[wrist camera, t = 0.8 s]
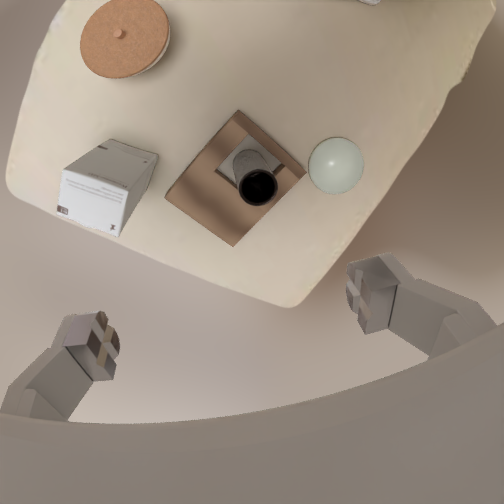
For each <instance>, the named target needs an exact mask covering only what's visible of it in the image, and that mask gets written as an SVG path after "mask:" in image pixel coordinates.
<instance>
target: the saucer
mask: <svg viewBox="0 0 504 504" xmlns="http://www.w3.org/2000/svg"><path fill="white" fill-rule="evenodd" d="M363 168H364V160H363V156H362V153H361V151H360V149H359V148H358V147H357V146H356V145H355V144H354V143H353V142H351V141H349V140H347V139H344V138H340V137H334V138H329V139H326V140H324V141H322V142H321V143H320V144H318V145H317V146H316V147H315V149H314V150H313V152H312V153H311V156H310V158H309V163H308V171H309V175H310V178H311V180H312V181H313V183H314V184H315V185H316V186H317V187H318V188H319V189H320V190H322V191H323V192H326V193H329V194H341V193H344V192H347V191H348V190H350V189H352V188H353V187H354V186H355V185H356V184H357V183H358V181H359V180H360V178H361V176H362V173H363Z"/></svg>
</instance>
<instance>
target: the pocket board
mask: <svg viewBox="0 0 504 504" xmlns="http://www.w3.org/2000/svg"><path fill="white" fill-rule="evenodd" d="M248 134H250V135H251V136H252V137H253V138H254V139H255V140H257V141H258V142H259V143H260V144H261V145H262V146H263V147H265V148H266V149H267V150H268V151H269V152H270V153H271V154H272V155H274V156H275V157H276V158H277V159H278V160H279V161H280V162H281V164H280V165H279V166H278V167H277V168H276V169H275V170H274V171H273V172H272V173H273V174H274V176H275V178H276V180H277V182H278V191H277V194H276V196H275V197H274V199H273V200H272V201H271V202H269V203H268V204H266V205H263V206H252V205H249V204H247V203H246V202H244V201H243V200H242V198H241V197H240V194H239V191H238V187H237V185H236V184H234V183H233V182H232V181H231V180H229V179H228V178H227V177H226V176H224V175H223V174H222V173H221V172H219V171H218V170H217V167H218V166H219V165H220V164H221V163H222V162H223V161H224V160H225V159H226V157H227V156H228V155H229V154H230V153H231V152H232V151H233V150H234V149H235V148H236V146H237V145H238V144H239V143H240V142H241V141H242V140H243V139H244V138H245V137H246V136H247V135H248ZM306 173H307V172H306V171H305V170H304V169H303V168H302V167H301V166H300V165H299V164H298V163H297V162H296V161H295V160H294V159H293V158H292V157H291V156H289V155H288V154H287V153H286V152H285V151H284V150H283V149H282V148H281V147H280V146H279V145H278V144H277V143H275V142H274V141H273V140H272V139H271V138H270V137H269V136H268V135H267V134H265V133H264V132H263V131H262V130H261V129H260V128H259V127H258V126H256V125H255V124H254V123H253V122H252V121H251V120H250V119H248V118H247V117H246V116H245V115H244V114H243V113H241V112H240V111H239V110H238V111H237V112H236V113H235V114H234V115H233V116H232V117H231V118H230V119H229V120H228V121H227V123H226V124H225V125H224V126H223V127H222V128H221V129H220V130H219V131H218V132H217V134H216V135H215V136H214V137H213V138H212V139H211V140H210V141H209V143H208V144H207V145H206V146H205V147H204V148H203V149H202V151H201V152H200V153H199V154H198V155H197V156H196V158H195V159H194V160H193V161H192V162H191V164H190V165H189V166H188V167H187V168H186V170H185V171H184V172H183V173H182V174H181V176H180V177H179V178H178V179H177V181H176V182H175V183H174V184H173V186H172V187H171V188H170V189H169V191H168V192H167V193H166V196H165V199H166V200H168V201H169V202H170V203H172V204H173V205H175V206H176V207H177V208H179V209H180V210H182V211H183V212H184V213H186V214H187V215H189V216H190V217H191V218H193V219H194V220H195V221H197V222H198V223H200V224H201V225H202V226H204V227H205V228H207V229H208V230H209V231H211V232H212V233H214V234H215V235H216V236H218V237H219V238H221V239H222V240H224V241H225V242H226V243H228V244H229V245H231V246H232V247H234V246H235V244H236V243H237V242H238V241H239V240H240V239H241V238H242V237H243V236H244V235H245V234H246V233H247V232H248V231H249V230H250V229H251V228H252V227H253V226H254V225H255V224H256V223H257V222H258V221H259V220H260V219H261V218H262V217H263V216H264V215H265V214H266V213H267V212H268V211H269V210H270V209H271V208H272V207H273V206H274V205H275V204H276V203H277V202H278V201H279V200H280V199H281V198H282V197H283V196H284V195H285V194H286V193H287V192H288V191H289V190H290V189H291V188H292V187H293V186H294V185H295V184H296V183H297V182H298V181H299V180H300V179H301V178H302V177H303V176H304V175H305V174H306Z"/></svg>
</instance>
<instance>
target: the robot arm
mask: <svg viewBox="0 0 504 504" xmlns="http://www.w3.org/2000/svg"><path fill="white" fill-rule="evenodd" d="M358 1H361V2H363V3H366V4H369V5H376V4H378V3H379V2H380V1H381V0H358ZM347 275H348V276H349V278H350V280H349V281H348V283H347V284H346V294H347V300H348V303H349V306H350V308H351V310H352V311H353V312H355V313H357V314H358V323H359V324H360V326H361V328H362V330H363V332H364V334H370V333H374V332H377V331H381V330H384V329H388V328H389V330H390V331H392V332H393V333H395V334H397V335H398V336H400V337H401V338H403V339H404V340H406V341H407V342H409V343H410V344H412V345H413V346H415V347H416V348H418V349H419V350H421V351H423V352H424V353H426V354H427V355H429V358H428V360H427V361H426V362H423V363H420V364H418V365H416V366H414V367H411V368H408V369H406V370H403V371H401V372H398V373H395V374H393V375H390V376H387V377H384V378H381V379H379V380H376V381H373V382H370V383H367V384H364V385H360V386H357V387H354V388H351V389H348V390H344V391H341V392H338V393H334V394H331V395H327V396H323V397H320V398H316V399H312V400H308V401H304V402H300V403H296V404H291V405H286V406H282V407H277V408H272V409H267V410H262V411H256V412H251V413H245V414H239V415H232V416H225V417H217V418H209V419H200V420H191V421H179V422H165V423H144V424H142V423H141V424H99V423H77V422H69V421H68V418H69V417H70V415H71V414H72V412H73V411H74V410H75V408H76V407H77V405H78V404H79V402H80V401H81V399H82V398H83V397H84V395H85V394H86V392H87V391H88V390H89V388H90V387H91V385H92V384H93V381H106V380H113V378H114V374H115V369H116V363H115V361H114V359H115V358H116V357H117V356H118V354H119V350H120V343H119V338H118V335H117V333H116V331H115V329H114V328H112V327H111V326H109V325H108V318H107V316H106V314H105V313H104V312H102V311H94V312H86V313H79V314H72V315H67V316H65V317H64V319H63V321H62V323H61V325H60V327H59V330H58V332H57V334H56V336H55V339H54V341H53V344H52V346H51V348H47V349H46V350H45V351H44V352H43V353H42V354H41V355H40V356H39V357H38V358H37V359H36V360H35V361H34V362H33V363H32V364H31V365H30V366H29V367H28V368H27V369H26V370H25V371H24V372H23V373H22V374H21V375H20V376H19V377H18V378H17V379H16V380H15V381H14V382H13V383H12V384H11V385H10V386H9V387H8V390H7V392H6V395H5V398H4V401H3V403H2V406H1V409H0V504H504V322H503V323H502V324H500V325H498V326H497V325H496V324H495V322H494V321H493V320H492V319H491V317H490V316H489V315H488V314H487V313H486V312H485V311H484V309H482V307H481V306H480V305H479V304H478V302H476V301H473V300H471V299H468V298H466V297H464V296H461V295H459V294H456V293H454V292H451V291H449V290H446V289H444V288H441V287H439V286H436V285H434V284H431V283H429V282H426V281H424V280H421V279H416V280H415V279H414V278H413V276H412V275H411V274H410V273H409V272H408V271H407V270H406V269H405V267H404V266H403V265H402V264H401V263H400V262H399V261H398V260H397V258H396V257H395V256H394V255H393V254H392V253H389V252H388V253H384V254H381V255H377V256H375V257H371V258H367V259H362V260H359V261H354V262H350V263H348V266H347Z"/></svg>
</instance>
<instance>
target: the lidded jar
mask: <svg viewBox="0 0 504 504" xmlns="http://www.w3.org/2000/svg"><path fill="white" fill-rule="evenodd" d="M169 41H170V24H169V21H168V18H167V15H166V13H165V12H164V10H163V9H162V7H161V6H160V5H159V4H158V3H156V2H155V1H154V0H111V1H109V2H107V3H106V4H104V5H103V6H101V7H100V8H99V9H98V10H97V11H96V12H95V13H94V14H93V15H92V16H91V17H90V19H89V20H88V22H87V23H86V25H85V27H84V29H83V32H82V35H81V41H80V50H81V55H82V58H83V60H84V62H85V64H86V65H87V67H88V68H89V69H90V70H91V71H93V72H94V73H96V74H98V75H99V76H103V77H106V78H125V77H130V76H134V75H137V74H140V73H142V72H144V71H146V70H148V69H149V68H151V67H152V66H154V65H155V64H156V63H157V62H158V61H159V60H160V59H161V57H162V56H163V55H164V53H165V51H166V49H167V47H168V44H169Z"/></svg>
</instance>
